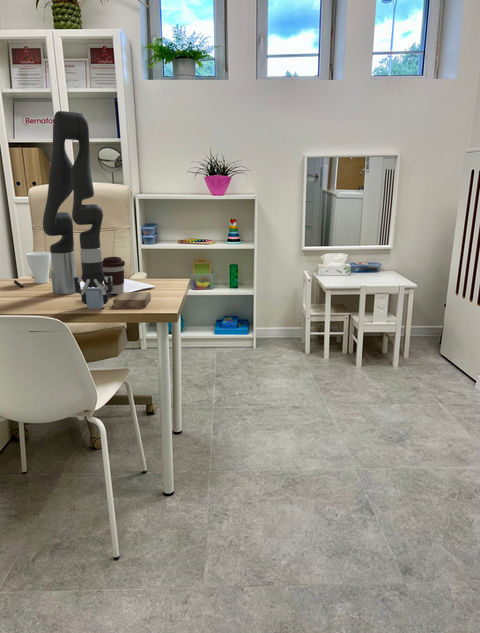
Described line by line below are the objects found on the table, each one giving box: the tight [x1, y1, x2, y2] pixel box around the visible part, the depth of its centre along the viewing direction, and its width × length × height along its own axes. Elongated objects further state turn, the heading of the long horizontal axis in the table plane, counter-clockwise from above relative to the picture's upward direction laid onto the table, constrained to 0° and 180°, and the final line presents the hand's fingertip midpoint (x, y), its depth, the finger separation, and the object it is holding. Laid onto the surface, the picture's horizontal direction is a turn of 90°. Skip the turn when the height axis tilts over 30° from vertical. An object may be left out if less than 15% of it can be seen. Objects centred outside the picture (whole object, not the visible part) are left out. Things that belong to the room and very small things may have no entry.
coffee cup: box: [102, 256, 126, 294], centre depth 200 cm, size 10×10×15 cm
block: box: [86, 287, 105, 310], centre depth 180 cm, size 5×5×7 cm
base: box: [112, 291, 152, 309], centre depth 186 cm, size 12×12×3 cm
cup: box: [25, 251, 52, 285], centre depth 221 cm, size 10×10×14 cm
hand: (95, 303), depth 181 cm, fingers open, 7 cm apart
